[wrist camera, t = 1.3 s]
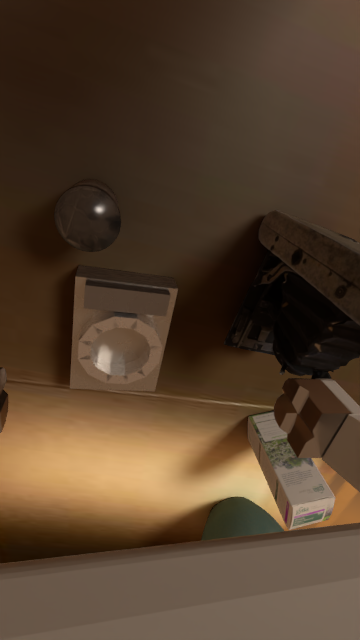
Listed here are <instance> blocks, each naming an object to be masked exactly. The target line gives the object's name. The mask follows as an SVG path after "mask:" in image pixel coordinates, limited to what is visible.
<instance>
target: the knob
mask: <svg viewBox="0 0 360 640" xmlns="http://www.w3.org/2000/svg"><path fill="white" fill-rule="evenodd" d="M54 219H55V224H56V227H57V230H58V232H59V233H60V235H61V236H62V238H63V239H64V240H65V241H66V242H67V243H68V244H70V245H71V246H73V247H74V248H77V249H79V250H82V251H87V252H95V251H100V250H103V249H105V248H107V247H108V246H110V245H111V244H112V243H113V242H114V241H115V239H116V238H117V236H118V234H119V231H120V226H121V219H120V212H119V209H118V201H117V198H116V196H115V194H114V192H113V191H112V190H111V188H109V187H108V186H107V185H106V184H104V183H103V182H101V181H98V180H94V179H86V180H82V181H80V182H78V183H76V184H75V185H74V186H73V187H72V188H70V189H68V190H67V191H66V192H65V193H64V194H63V195H62V196H61V197H60V198H59V200H58V202H57V204H56V207H55V212H54Z"/></svg>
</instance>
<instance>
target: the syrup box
mask: <svg viewBox="0 0 360 640" xmlns="http://www.w3.org/2000/svg"><path fill="white" fill-rule="evenodd" d="M248 441H249V443H250V445H251V447H252V449H253V451H254V453H255V456H256V458H257V460H258V462H259V464H260V467H261V469H262V471H263V474H264V476H265V478H266V480H267V483H268V485H269V488H270V490H271V492H272V494H273V497H274V499H275V501H276V504H277V506H278V508H279V511H280V513H281V515H282V518H283V520H284V522H285V524H286V526H287V528H288V529H289V530H291V529H294V528H298V527H302V526H305V525H310V524H313V523H317V522H321V521H325V520H328V519H329V517H330V515H331V513H332V510H333V507H334V501H335V497H334V494H333V493H332V491H331V489H330V488H329V486H328V485H327V483H326V481H325V480H324V478H323V477H322V475H321V473H320V472H319V470H318V468H317V467H316V465H315V464H314V462H313V460H312V459H311V458H297V456H296V454H295V453H294V451H293V449H292V448H291V446H290V444H289V443H288V441H287V433H286V432H284V431H283V430H282V429H280V428H279V426H278V424H277V422H276V420H275V417H274V411H270V412H266V413H261V414H256V415H252V416H249V417H248Z"/></svg>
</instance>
